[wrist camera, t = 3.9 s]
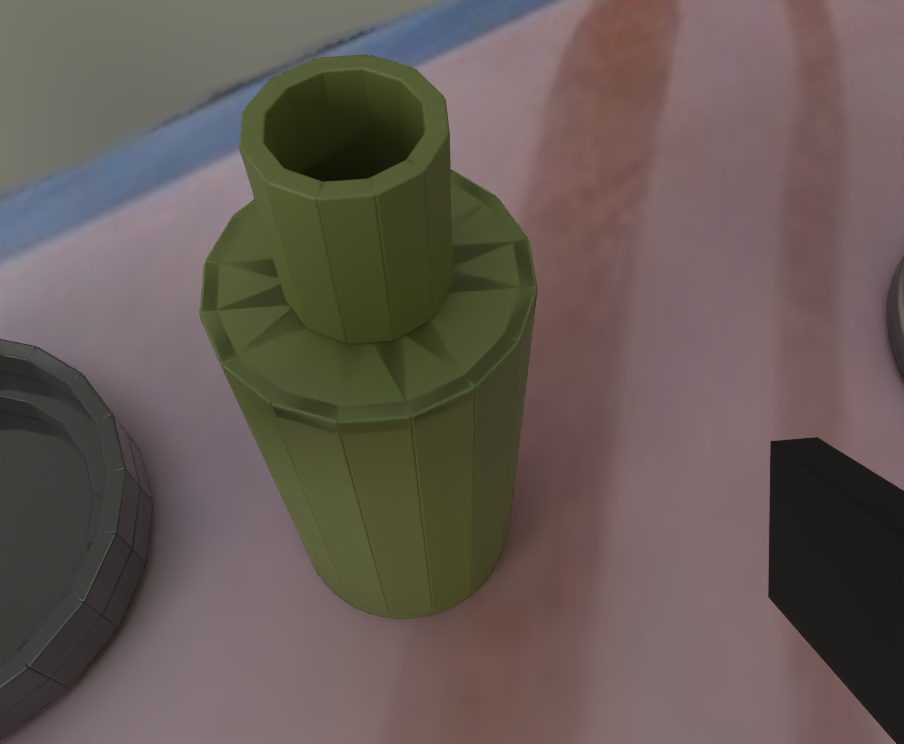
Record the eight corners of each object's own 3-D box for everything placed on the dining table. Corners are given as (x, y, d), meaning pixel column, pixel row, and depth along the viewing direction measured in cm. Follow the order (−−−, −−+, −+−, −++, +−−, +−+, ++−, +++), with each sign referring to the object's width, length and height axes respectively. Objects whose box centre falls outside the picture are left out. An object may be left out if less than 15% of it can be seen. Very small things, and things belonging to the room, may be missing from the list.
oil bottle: (495, 421, 30) (523, -16, 16) (519, 609, 26) (584, 267, 12) (306, 436, 30) (157, 7, 15) (304, 628, 26) (106, 303, 12)
